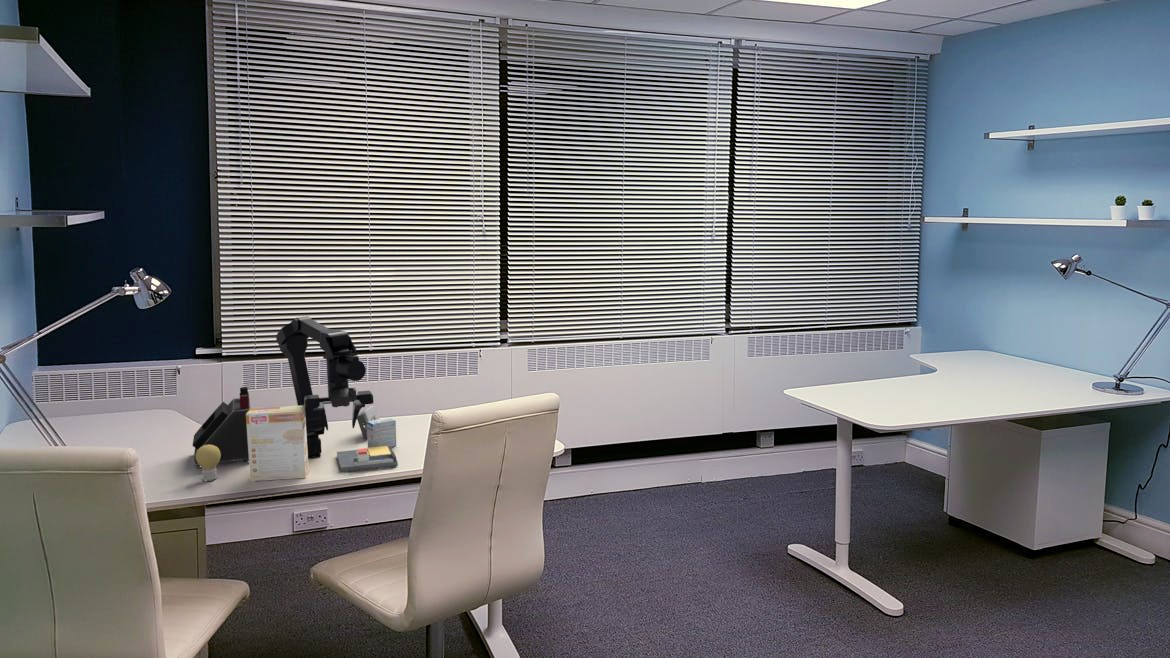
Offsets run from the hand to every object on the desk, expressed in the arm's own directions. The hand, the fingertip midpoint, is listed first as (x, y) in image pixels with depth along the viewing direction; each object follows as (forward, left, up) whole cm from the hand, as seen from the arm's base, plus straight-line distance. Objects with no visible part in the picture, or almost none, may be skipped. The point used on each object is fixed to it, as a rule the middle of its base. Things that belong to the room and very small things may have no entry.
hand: (340, 428), depth 260 cm
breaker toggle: (+6, 0, -10) cm, 12 cm away
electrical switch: (+11, +33, -12) cm, 37 cm away
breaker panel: (+7, +5, -12) cm, 15 cm away
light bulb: (-36, +3, -12) cm, 38 cm away
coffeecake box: (-17, 0, -12) cm, 21 cm away
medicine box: (+13, +18, -12) cm, 26 cm away
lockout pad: (+11, +8, -10) cm, 17 cm away
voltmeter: (-33, +23, -12) cm, 42 cm away
